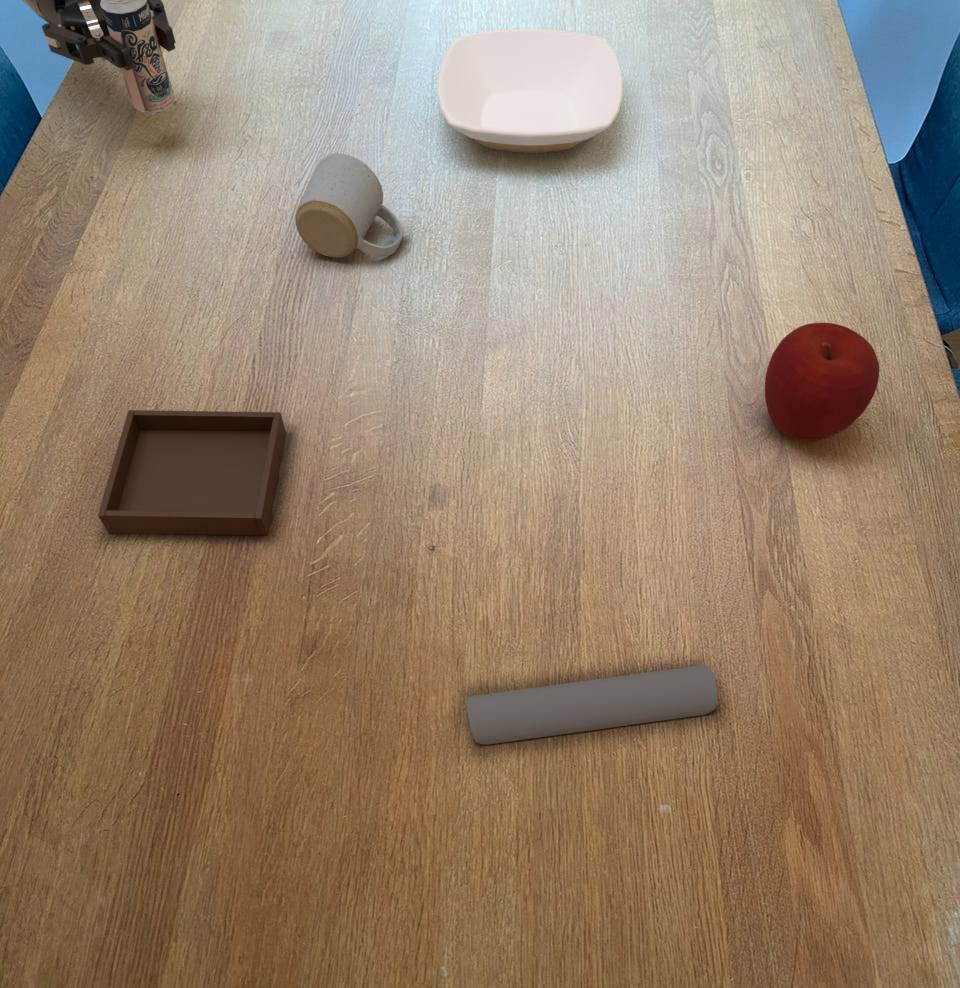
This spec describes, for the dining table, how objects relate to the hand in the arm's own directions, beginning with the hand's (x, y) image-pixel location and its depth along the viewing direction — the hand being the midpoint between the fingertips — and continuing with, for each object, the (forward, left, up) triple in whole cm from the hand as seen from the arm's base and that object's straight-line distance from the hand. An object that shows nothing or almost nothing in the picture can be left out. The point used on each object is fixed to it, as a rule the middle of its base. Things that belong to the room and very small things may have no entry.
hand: (149, 50), depth 101 cm
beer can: (-2, +2, -7) cm, 8 cm away
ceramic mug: (+22, -15, -12) cm, 29 cm away
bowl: (+41, +7, -12) cm, 43 cm away
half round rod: (+46, -71, -12) cm, 86 cm away
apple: (+67, -41, -12) cm, 80 cm away
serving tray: (+11, -49, -12) cm, 52 cm away
